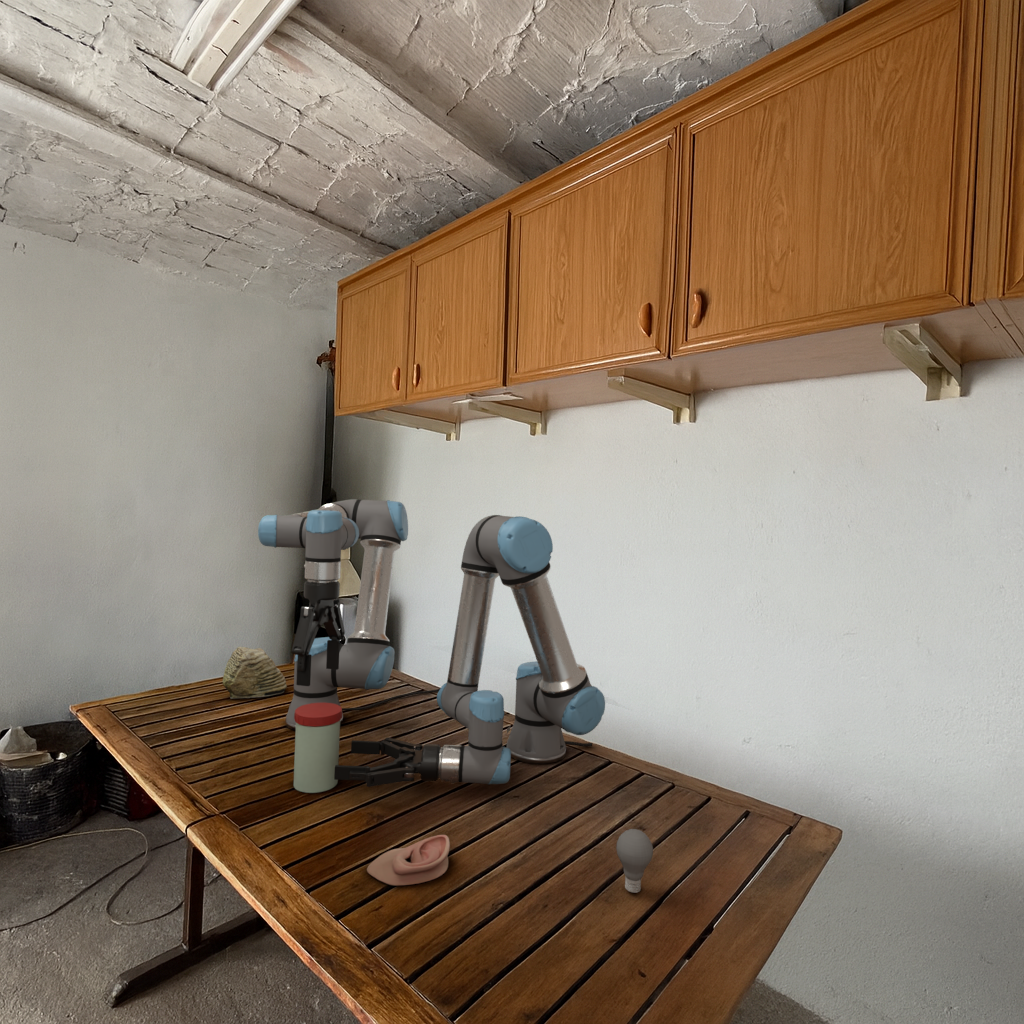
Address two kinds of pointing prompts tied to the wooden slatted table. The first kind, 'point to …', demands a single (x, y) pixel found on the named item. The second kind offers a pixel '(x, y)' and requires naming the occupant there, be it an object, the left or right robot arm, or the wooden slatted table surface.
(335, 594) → the left robot arm
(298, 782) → the jar
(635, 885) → the light bulb
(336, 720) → the lid
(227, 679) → the fossil
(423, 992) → the wooden slatted table surface
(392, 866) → the anatomical model
